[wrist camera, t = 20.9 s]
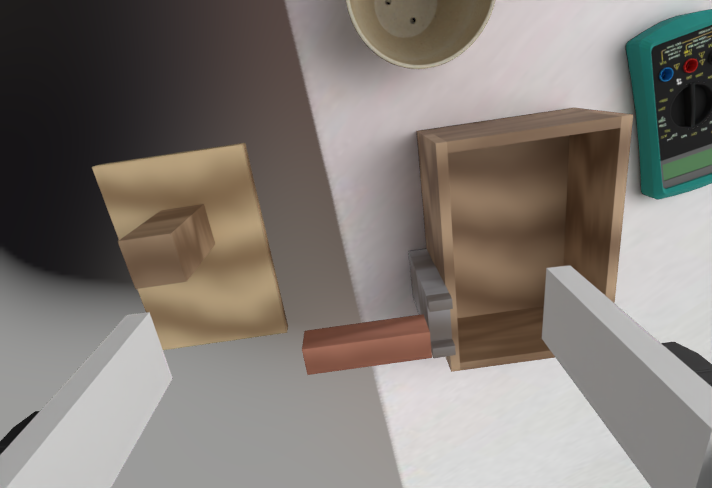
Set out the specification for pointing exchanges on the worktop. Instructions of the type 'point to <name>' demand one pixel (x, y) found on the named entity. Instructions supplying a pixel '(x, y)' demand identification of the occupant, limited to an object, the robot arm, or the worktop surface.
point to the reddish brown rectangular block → (366, 344)
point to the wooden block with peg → (195, 244)
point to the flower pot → (419, 28)
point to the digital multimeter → (673, 103)
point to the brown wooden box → (515, 226)
